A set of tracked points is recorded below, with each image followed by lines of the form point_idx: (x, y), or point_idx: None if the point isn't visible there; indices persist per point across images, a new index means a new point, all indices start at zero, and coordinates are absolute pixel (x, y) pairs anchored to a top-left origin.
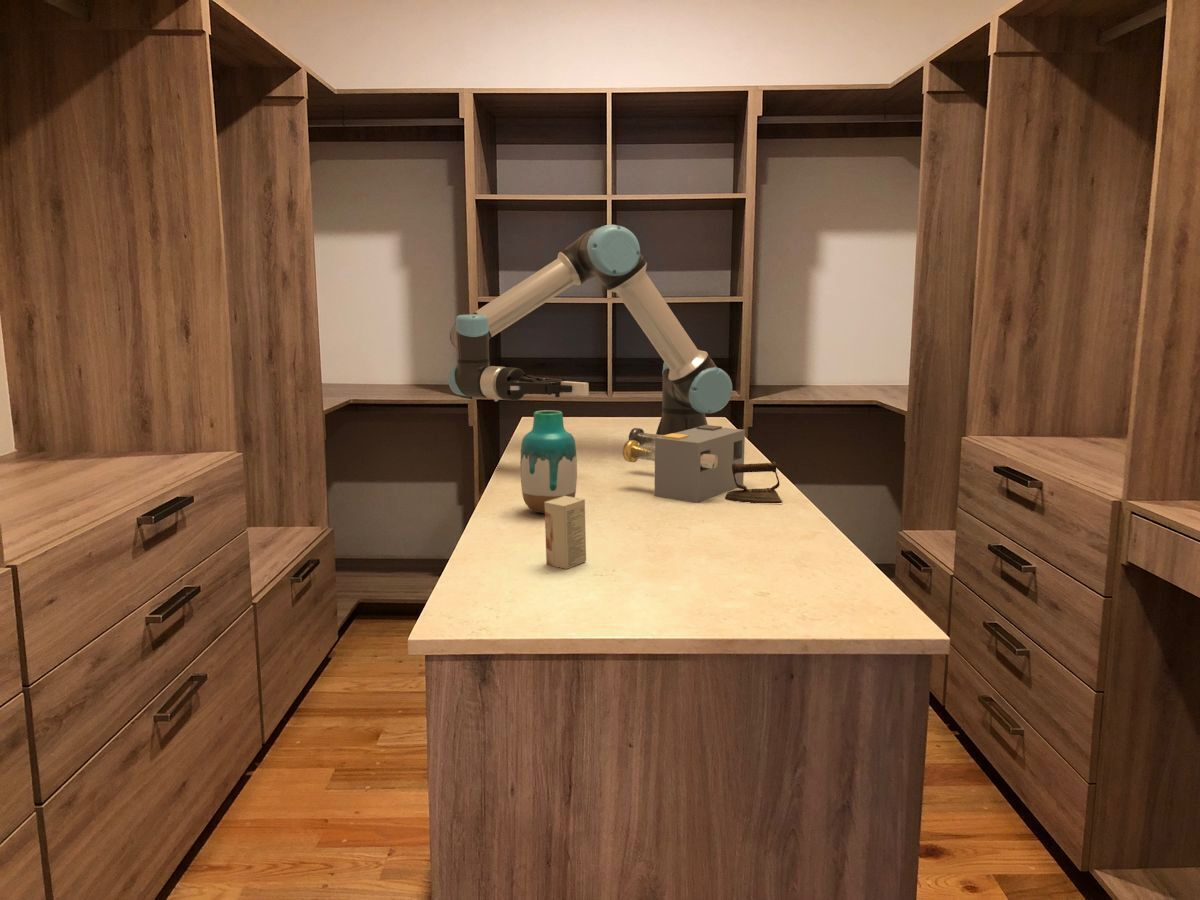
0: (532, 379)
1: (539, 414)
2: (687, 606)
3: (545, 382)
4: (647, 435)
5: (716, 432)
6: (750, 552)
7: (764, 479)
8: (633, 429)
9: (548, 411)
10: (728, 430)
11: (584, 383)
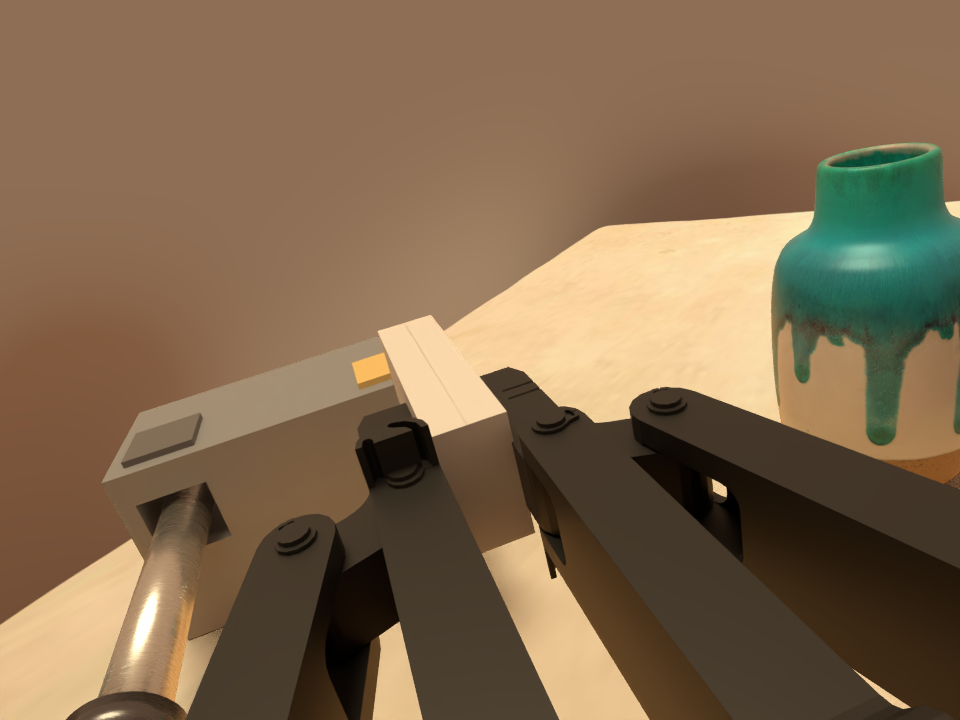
0: (928, 711)
1: (917, 144)
2: (758, 236)
3: (670, 495)
4: (150, 656)
5: (230, 399)
6: (590, 304)
7: (107, 574)
8: (119, 714)
9: (870, 168)
10: (173, 413)
11: (428, 316)
